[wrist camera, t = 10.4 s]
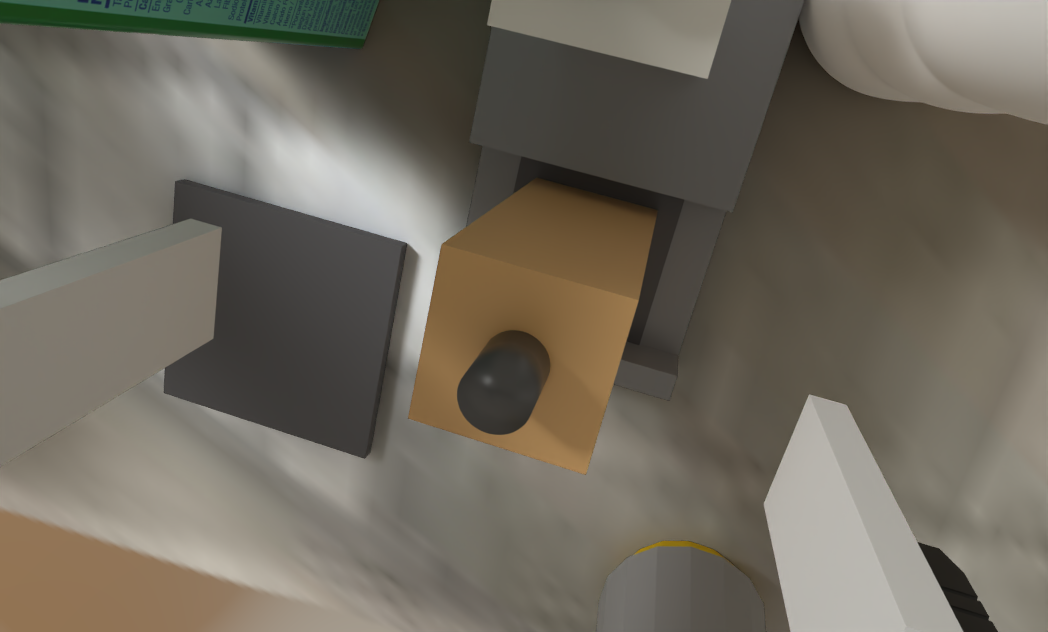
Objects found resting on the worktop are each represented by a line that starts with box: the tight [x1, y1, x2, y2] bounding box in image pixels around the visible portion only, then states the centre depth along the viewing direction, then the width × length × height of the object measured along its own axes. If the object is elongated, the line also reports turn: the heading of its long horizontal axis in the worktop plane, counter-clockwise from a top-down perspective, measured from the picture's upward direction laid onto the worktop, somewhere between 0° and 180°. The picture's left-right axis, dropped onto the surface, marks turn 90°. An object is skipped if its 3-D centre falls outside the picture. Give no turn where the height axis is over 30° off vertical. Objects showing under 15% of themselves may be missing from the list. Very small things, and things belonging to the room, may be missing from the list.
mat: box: [164, 179, 407, 459], centre depth 32 cm, size 10×10×1 cm
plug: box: [408, 178, 658, 475], centre depth 21 cm, size 4×4×13 cm
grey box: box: [466, 0, 804, 401], centre depth 19 cm, size 9×21×14 cm, turn 167°
